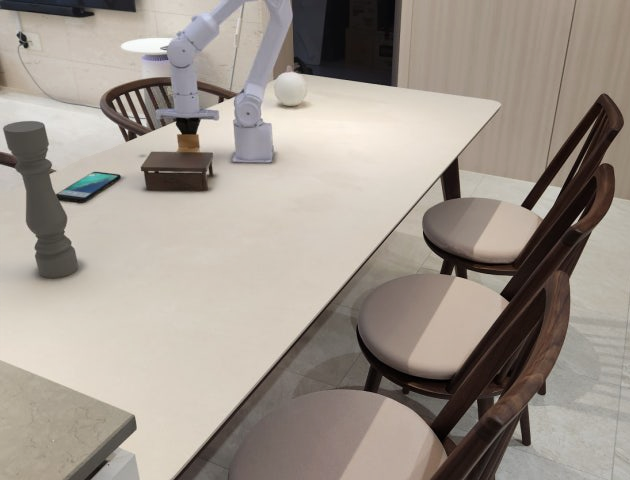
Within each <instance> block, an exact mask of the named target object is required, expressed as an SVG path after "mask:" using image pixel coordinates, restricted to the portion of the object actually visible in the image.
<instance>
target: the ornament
mask: <svg viewBox="0 0 630 480" xmlns="http://www.w3.org/2000/svg"><path fill="white" fill-rule="evenodd" d="M285 70H286V71H285V72H283V73H280V74H279V75H278V76H277V77H276V79H275V81H274V85H273V91H274V92H273V93H274V96H275V98H276V99H277V101H278V102H279V103H280V104H282V105H284V106H287V107H295V106H298V105H300V104H302V103H303V102H304V101H305V99H306V97H307V93H308V86H307V82H306V80H305V78H304V77H303V76H302V75H301V74H299V73H297V72H295V71H293V68H292V65H287V66H286V69H285Z"/></svg>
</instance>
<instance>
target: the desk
mask: <svg viewBox="0 0 630 480" xmlns="http://www.w3.org/2000/svg"><path fill="white" fill-rule="evenodd" d="M213 158H214V152H213V151H212V152H211V151H209V152H208V151H207V152H205V151H200V152H176V151H150V152H149V154H148V155H147V157H146V159H145V160H144V162H142V164H141V166H140V171H141V172H143V176H144V182H145V190H146V191H155V192H156V191H163V192H166V191H167V192H170V191H171V192H174V191H175V192H204V191H208V178H207V172H208V173H209V174H208V176H209V177H214V167H213Z"/></svg>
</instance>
